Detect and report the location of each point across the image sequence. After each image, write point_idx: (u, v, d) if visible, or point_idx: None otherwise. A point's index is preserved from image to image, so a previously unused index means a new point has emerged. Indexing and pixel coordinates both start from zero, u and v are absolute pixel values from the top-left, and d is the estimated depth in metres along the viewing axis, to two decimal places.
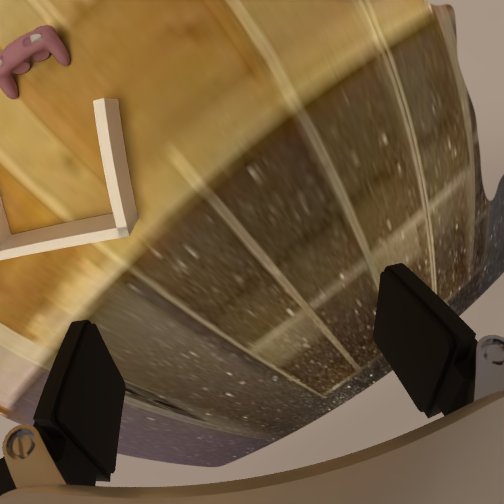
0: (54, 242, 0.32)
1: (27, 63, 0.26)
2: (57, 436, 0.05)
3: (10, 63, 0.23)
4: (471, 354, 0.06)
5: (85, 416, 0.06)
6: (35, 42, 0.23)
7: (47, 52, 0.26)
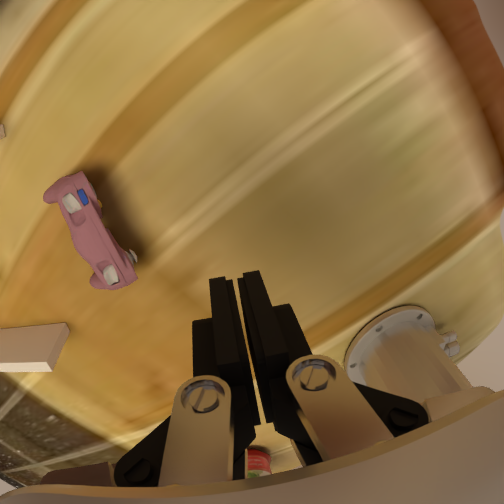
0: None
1: None
2: (237, 382, 0.07)
3: (72, 237, 0.20)
4: None
5: None
6: (104, 275, 0.21)
7: None
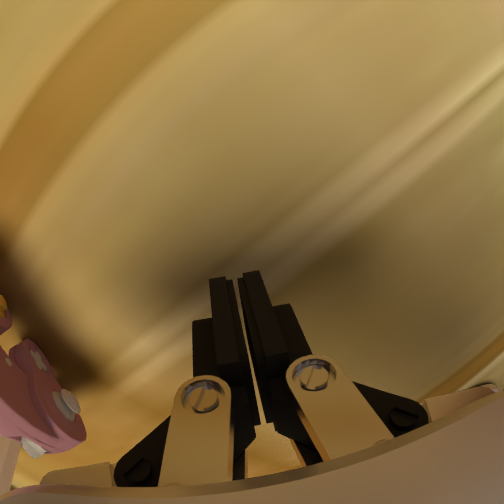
0: None
1: None
2: (237, 382, 0.07)
3: None
4: None
5: None
6: (26, 443, 0.08)
7: None
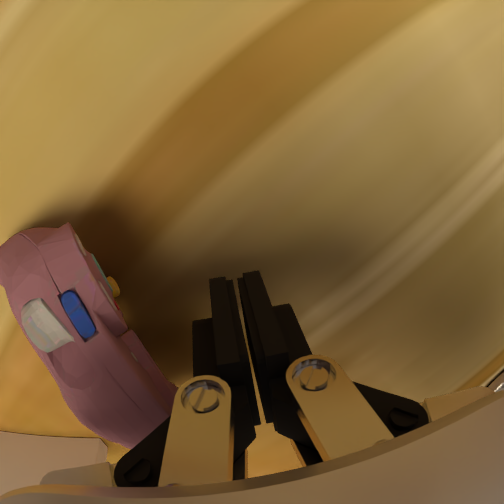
0: None
1: None
2: (237, 382, 0.07)
3: None
4: None
5: None
6: None
7: None
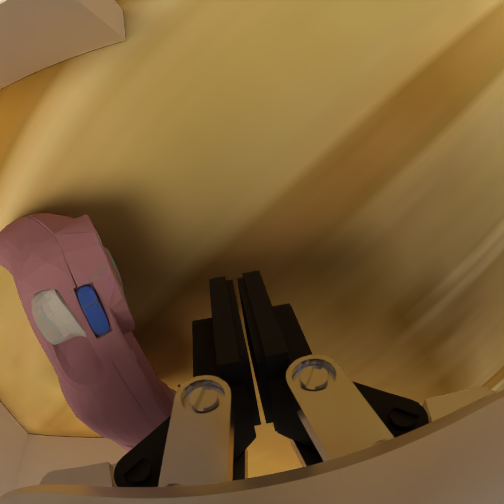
0: None
1: None
2: (237, 382, 0.07)
3: (64, 392, 0.07)
4: None
5: None
6: None
7: None
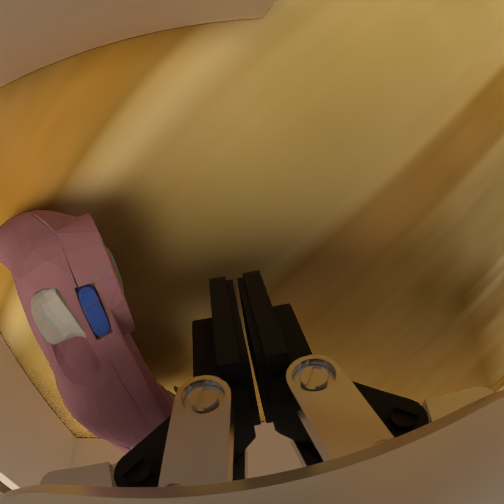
0: None
1: None
2: (237, 382, 0.07)
3: (60, 393, 0.07)
4: None
5: None
6: (130, 449, 0.09)
7: None
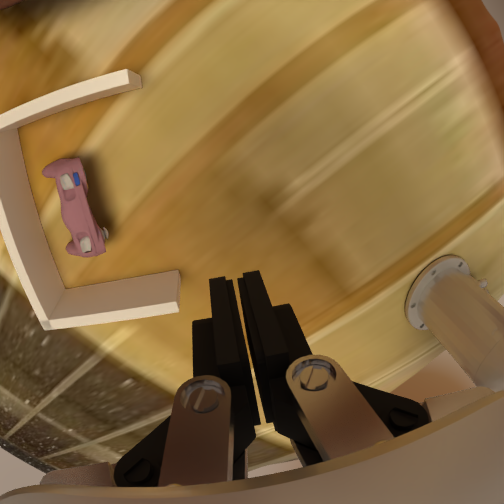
0: (14, 247, 0.23)
1: None
2: (237, 382, 0.07)
3: (62, 209, 0.24)
4: None
5: None
6: None
7: None
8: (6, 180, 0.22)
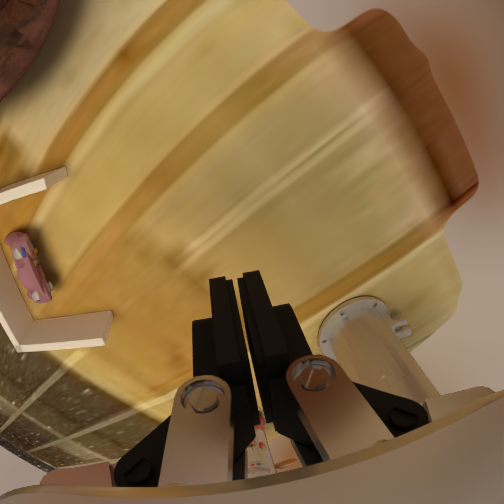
0: None
1: None
2: (237, 382, 0.07)
3: (17, 272, 0.31)
4: None
5: None
6: (32, 295, 0.33)
7: None
8: None
